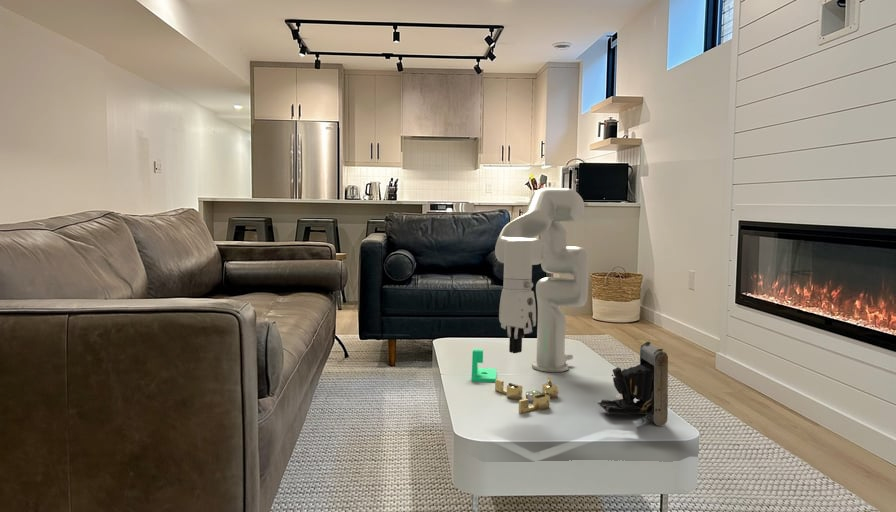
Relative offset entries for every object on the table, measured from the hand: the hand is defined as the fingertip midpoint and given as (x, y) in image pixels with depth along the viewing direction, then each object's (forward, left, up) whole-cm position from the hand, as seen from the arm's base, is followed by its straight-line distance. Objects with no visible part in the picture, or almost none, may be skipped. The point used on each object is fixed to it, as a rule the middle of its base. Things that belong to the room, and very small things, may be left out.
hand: (515, 352), depth 157 cm
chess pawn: (-30, +14, -16) cm, 37 cm away
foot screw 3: (-15, -1, -14) cm, 21 cm away
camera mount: (-11, -25, -16) cm, 32 cm away
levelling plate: (-7, +1, -16) cm, 17 cm away
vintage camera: (-19, +24, -16) cm, 35 cm away
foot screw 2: (-1, +6, -14) cm, 16 cm away
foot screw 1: (-4, -7, -14) cm, 17 cm away
